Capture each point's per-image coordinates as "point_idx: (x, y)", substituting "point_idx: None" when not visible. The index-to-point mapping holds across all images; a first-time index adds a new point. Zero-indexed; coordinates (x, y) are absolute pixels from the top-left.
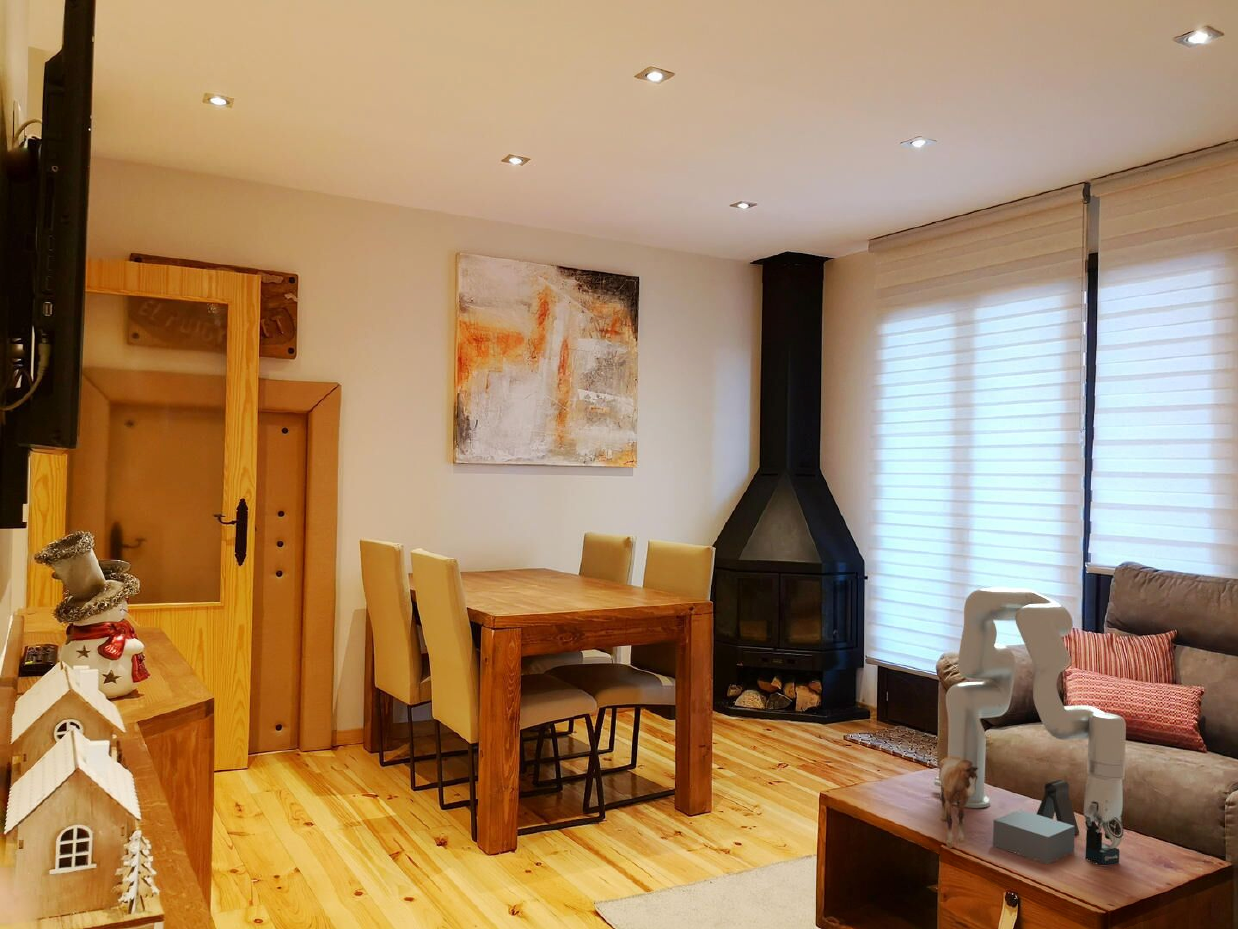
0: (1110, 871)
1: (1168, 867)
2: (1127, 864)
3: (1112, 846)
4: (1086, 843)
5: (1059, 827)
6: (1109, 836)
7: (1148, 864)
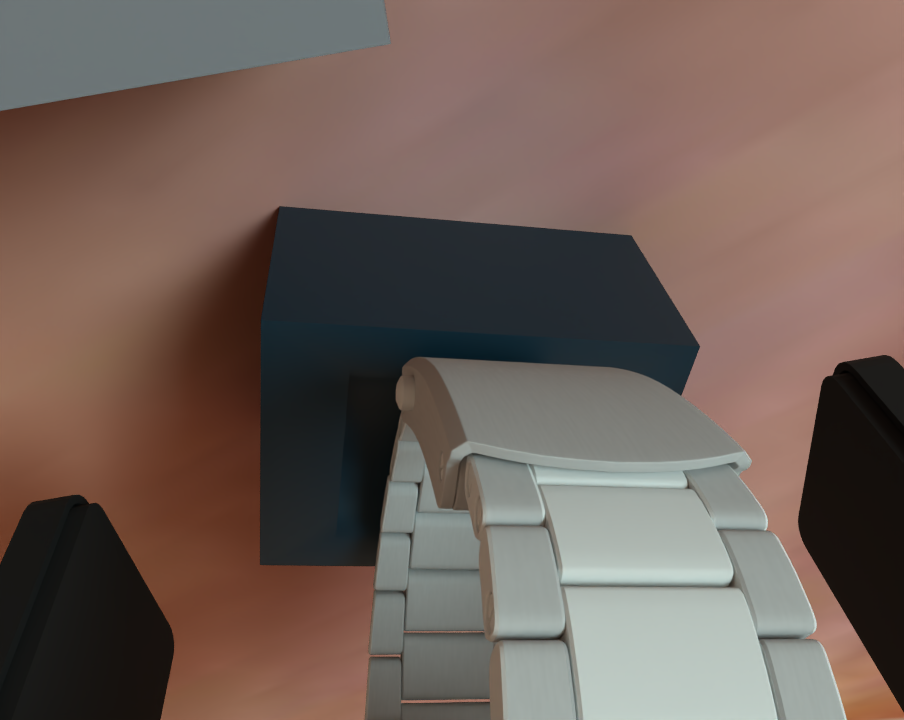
0: (243, 528)
1: None
2: None
3: (393, 688)
4: (14, 544)
5: None
6: None
7: None
